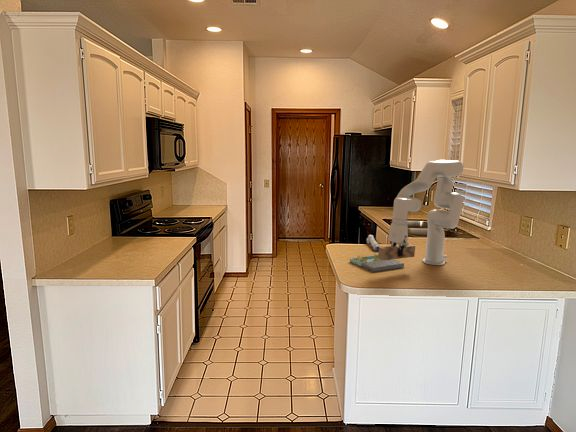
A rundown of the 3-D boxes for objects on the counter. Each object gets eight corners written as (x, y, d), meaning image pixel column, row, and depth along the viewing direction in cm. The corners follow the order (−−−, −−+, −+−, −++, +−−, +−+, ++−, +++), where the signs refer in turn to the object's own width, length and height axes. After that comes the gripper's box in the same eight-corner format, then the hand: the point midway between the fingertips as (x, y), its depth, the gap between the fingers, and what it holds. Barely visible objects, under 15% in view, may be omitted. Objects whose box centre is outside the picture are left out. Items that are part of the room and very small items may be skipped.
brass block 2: (383, 260, 240) (378, 259, 244) (383, 254, 239) (379, 252, 243) (378, 261, 238) (373, 259, 242) (378, 255, 238) (374, 253, 241)
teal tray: (379, 258, 248) (379, 254, 248) (391, 262, 239) (391, 259, 239) (349, 262, 238) (349, 258, 237) (361, 267, 229) (361, 263, 228)
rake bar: (408, 254, 225) (409, 244, 224) (414, 256, 222) (415, 245, 221) (378, 258, 215) (378, 247, 214) (383, 260, 211) (384, 249, 210)
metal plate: (391, 262, 239) (391, 258, 238) (403, 267, 230) (404, 263, 230) (361, 267, 228) (361, 262, 228) (373, 272, 220) (373, 267, 219)
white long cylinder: (373, 246, 263) (366, 232, 287) (372, 255, 265) (365, 241, 289) (382, 246, 263) (373, 232, 287) (381, 255, 265) (373, 241, 289)
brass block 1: (366, 263, 234) (362, 261, 238) (367, 256, 234) (362, 254, 237) (361, 264, 232) (356, 262, 236) (361, 257, 232) (357, 255, 235)
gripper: (383, 219, 221) (380, 252, 224) (405, 224, 206) (402, 259, 209) (394, 218, 224) (391, 250, 227) (416, 223, 210) (413, 258, 213)
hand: (396, 254), depth 218 cm, fingers closed on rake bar, 4 cm apart
